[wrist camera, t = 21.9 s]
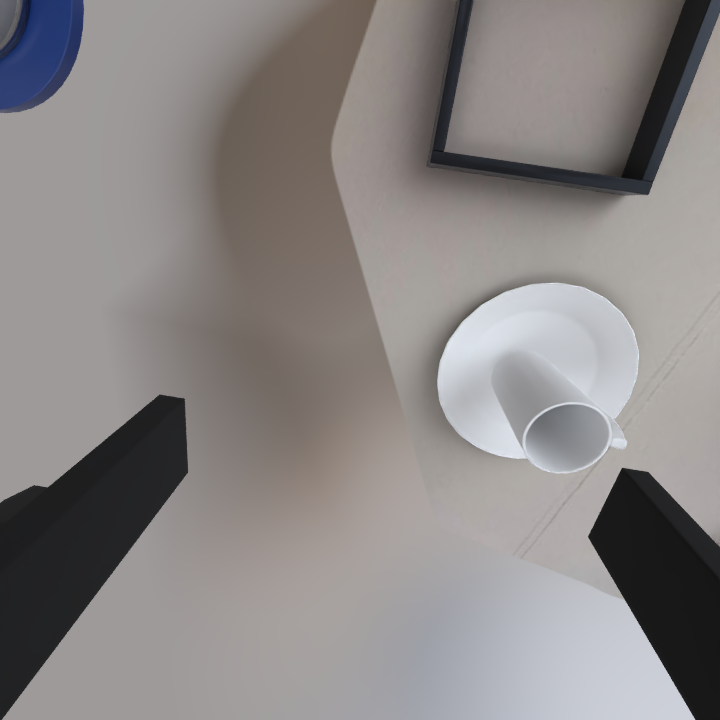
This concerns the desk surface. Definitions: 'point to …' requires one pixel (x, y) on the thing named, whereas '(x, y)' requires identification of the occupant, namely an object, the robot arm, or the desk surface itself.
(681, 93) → the black square frame
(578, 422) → the mug
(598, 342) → the plate
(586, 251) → the desk surface
